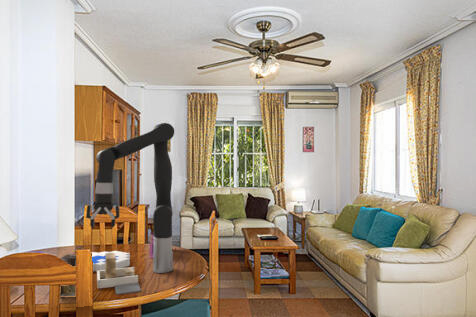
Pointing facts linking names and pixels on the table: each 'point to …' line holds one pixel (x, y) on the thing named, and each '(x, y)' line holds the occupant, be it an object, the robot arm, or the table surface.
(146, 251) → the table surface
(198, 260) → the table surface
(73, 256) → the coffee box
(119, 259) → the pixel art tile
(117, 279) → the u-shaped fence
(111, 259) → the tan upright block
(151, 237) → the gum box
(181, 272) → the table surface
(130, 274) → the offcut upper
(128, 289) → the mat
